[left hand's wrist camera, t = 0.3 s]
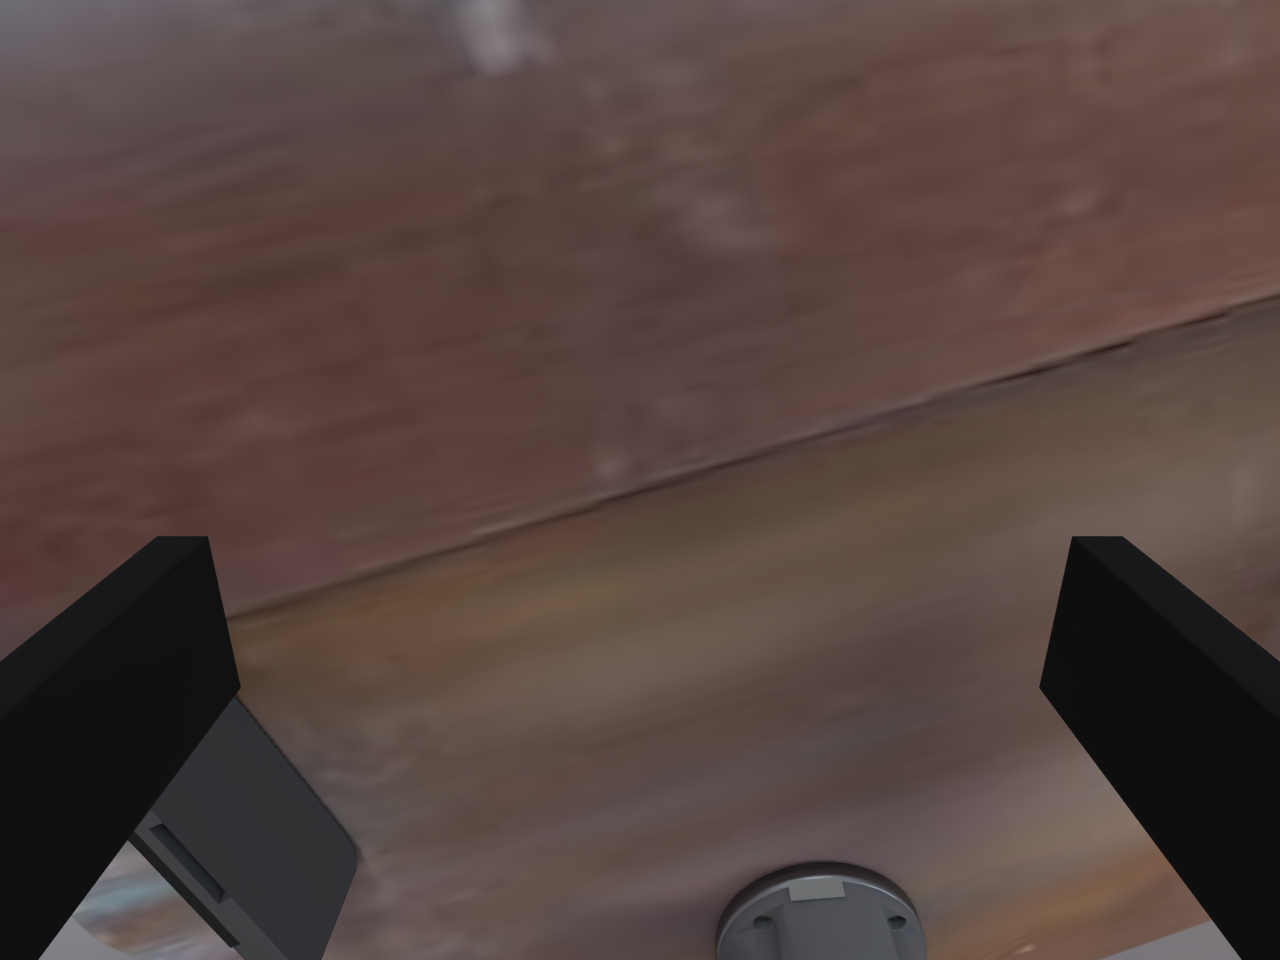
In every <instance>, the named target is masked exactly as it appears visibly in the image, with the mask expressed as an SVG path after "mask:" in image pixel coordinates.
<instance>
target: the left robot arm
mask: <svg viewBox="0 0 1280 960" xmlns="http://www.w3.org/2000/svg"><path fill="white" fill-rule="evenodd" d="M240 688H241V687H240V682H239V677H238V673H237V668H236V664H235V659H234V655H233V650H232V645H231V641H230V636H229V632H228V627H227V622H226V618H225V613H224V609H223V604H222V600H221V595H220V590H219V586H218V581H217V577H216V572H215V567H214V563H213V558H212V554H211V549H210V544H209V540H208V536H157V537H156V538H155V539H153V540H152V541H151V542H150V543H148V544H147V545H146V546H145V547H143V548H142V549H141V550H140V551H138V552H137V553H136V554H135V555H133V556H132V557H131V558H130V559H128V560H127V561H126V562H125V563H123V564H122V565H121V566H120V567H118V568H117V569H116V570H115V571H113V572H112V573H111V574H109V575H108V576H107V577H106V578H104V579H103V580H102V581H101V582H99V583H98V584H97V585H96V586H94V587H93V588H92V589H91V590H89V591H88V592H87V593H86V594H84V595H83V596H82V597H81V598H79V599H78V600H77V601H76V602H74V603H73V604H72V605H71V606H69V607H68V608H67V609H66V610H64V611H63V612H62V613H61V614H59V615H58V616H57V617H56V618H54V619H53V620H52V621H51V622H49V623H48V624H47V625H46V626H44V627H43V628H42V629H41V630H39V631H38V632H37V633H35V634H34V635H33V636H32V637H30V638H29V639H28V640H27V641H25V642H24V643H23V644H22V645H20V646H19V647H18V648H17V649H15V650H14V651H13V652H12V653H10V654H9V655H8V656H7V657H5V658H4V659H3V660H2V661H0V960H38V959H39V958H40V957H41V955H42V954H43V953H44V951H45V950H46V949H47V947H48V946H49V945H50V943H51V942H52V941H53V939H54V938H55V937H56V935H57V934H58V933H59V931H60V930H61V929H62V927H63V926H64V924H65V923H66V922H67V920H68V919H69V918H70V916H71V915H72V914H73V912H74V911H75V910H76V908H77V907H78V906H79V904H80V903H81V902H82V900H83V899H84V898H85V896H86V895H87V894H88V892H89V891H90V890H91V888H92V887H93V886H94V884H95V883H96V882H97V880H98V879H99V877H100V876H101V875H102V873H103V872H104V871H105V869H106V868H107V867H108V865H109V864H110V863H111V861H112V860H113V859H114V857H115V856H116V855H117V853H118V852H119V851H120V849H121V848H122V847H123V845H124V844H125V843H126V841H127V840H128V839H129V837H130V836H131V834H132V833H133V832H134V830H135V829H136V828H137V826H138V825H139V824H140V822H141V821H142V820H143V818H144V817H145V816H146V814H147V813H148V812H149V810H150V809H151V808H152V806H153V805H154V804H155V802H156V801H157V800H158V798H159V797H160V796H161V794H162V793H163V792H164V790H165V789H166V787H167V786H168V785H169V783H170V782H171V781H172V779H173V778H174V777H175V775H176V774H177V773H178V771H179V770H180V769H181V767H182V766H183V765H184V763H185V762H186V761H187V759H188V758H189V757H190V755H191V754H192V753H193V751H194V750H195V749H196V747H197V746H198V745H199V743H200V742H201V740H202V739H203V738H204V736H205V735H206V734H207V732H208V731H209V730H210V728H211V727H212V726H213V724H214V723H215V722H216V720H217V719H218V718H219V716H220V715H221V714H222V712H223V711H224V710H225V708H226V707H227V706H228V704H229V703H230V702H231V700H232V699H233V697H234V696H235V695H236V693H237V692H238V691H239V689H240ZM1039 688H1040V689H1041V691H1042V692H1043V693H1044V695H1045V696H1046V697H1047V699H1048V700H1049V702H1050V703H1051V704H1052V706H1053V707H1054V708H1055V710H1056V711H1057V712H1058V714H1059V715H1060V716H1061V718H1062V719H1063V720H1064V722H1065V723H1066V724H1067V726H1068V727H1069V728H1070V730H1071V731H1072V732H1073V734H1074V735H1075V736H1076V738H1077V739H1078V740H1079V742H1080V743H1081V745H1082V746H1083V747H1084V749H1085V750H1086V751H1087V753H1088V754H1089V755H1090V757H1091V758H1092V759H1093V761H1094V762H1095V763H1096V765H1097V766H1098V767H1099V769H1100V770H1101V771H1102V773H1103V774H1104V775H1105V777H1106V778H1107V779H1108V781H1109V782H1110V783H1111V785H1112V786H1113V787H1114V789H1115V790H1116V792H1117V793H1118V794H1119V796H1120V797H1121V798H1122V800H1123V801H1124V802H1125V804H1126V805H1127V806H1128V808H1129V809H1130V810H1131V812H1132V813H1133V814H1134V816H1135V817H1136V818H1137V820H1138V821H1139V822H1140V824H1141V825H1142V826H1143V828H1144V829H1145V830H1146V832H1147V833H1148V834H1149V836H1150V837H1151V839H1152V840H1153V841H1154V843H1155V844H1156V845H1157V847H1158V848H1159V849H1160V851H1161V852H1162V853H1163V855H1164V856H1165V857H1166V859H1167V860H1168V861H1169V863H1170V864H1171V865H1172V867H1173V868H1174V869H1175V871H1176V872H1177V873H1178V875H1179V876H1180V877H1181V879H1182V880H1183V882H1184V883H1185V884H1186V886H1187V887H1188V888H1189V890H1190V891H1191V892H1192V894H1193V895H1194V896H1195V898H1196V899H1197V900H1198V902H1199V903H1200V904H1201V906H1202V907H1203V908H1204V910H1205V911H1206V912H1207V914H1208V915H1209V916H1210V918H1211V919H1212V920H1213V922H1214V923H1215V924H1216V926H1217V927H1218V929H1219V930H1220V931H1221V933H1222V934H1223V935H1224V937H1225V938H1226V939H1227V941H1228V942H1229V943H1230V945H1231V946H1232V947H1233V949H1234V950H1235V951H1236V953H1237V954H1238V955H1239V957H1240V958H1241V959H1242V960H1280V661H1278V660H1277V659H1276V658H1275V657H1273V656H1272V655H1271V654H1270V653H1268V652H1267V651H1266V650H1265V649H1263V648H1262V647H1261V646H1260V645H1258V644H1257V643H1256V642H1255V641H1253V640H1252V639H1251V638H1250V637H1248V636H1247V635H1246V634H1244V633H1243V632H1242V631H1241V630H1239V629H1238V628H1237V627H1236V626H1234V625H1233V624H1232V623H1231V622H1229V621H1228V620H1227V619H1226V618H1224V617H1223V616H1222V615H1221V614H1219V613H1218V612H1217V611H1216V610H1214V609H1213V608H1212V607H1211V606H1209V605H1208V604H1207V603H1206V602H1204V601H1203V600H1202V599H1201V598H1199V597H1198V596H1197V595H1196V594H1194V593H1193V592H1192V591H1191V590H1189V589H1188V588H1187V587H1186V586H1184V585H1183V584H1182V583H1181V582H1179V581H1178V580H1177V579H1176V578H1174V577H1173V576H1172V575H1171V574H1169V573H1168V572H1167V571H1165V570H1164V569H1163V568H1162V567H1160V566H1159V565H1158V564H1157V563H1155V562H1154V561H1153V560H1152V559H1150V558H1149V557H1148V556H1147V555H1145V554H1144V553H1143V552H1142V551H1140V550H1139V549H1138V548H1137V547H1135V546H1134V545H1133V544H1132V543H1130V542H1129V541H1128V540H1127V539H1125V538H1124V537H1123V536H1072V540H1071V544H1070V549H1069V554H1068V558H1067V563H1066V567H1065V572H1064V577H1063V581H1062V586H1061V590H1060V595H1059V599H1058V604H1057V609H1056V613H1055V618H1054V622H1053V627H1052V632H1051V636H1050V641H1049V645H1048V650H1047V655H1046V659H1045V664H1044V668H1043V673H1042V677H1041V682H1040V687H1039ZM716 952H717V960H927V951H926V942H925V936H924V932H923V929H922V926H921V923H920V920H919V918H918V915H917V912H916V909H915V907H914V905H913V903H912V902H911V900H910V899H909V897H908V896H907V895H906V893H905V892H904V891H903V890H902V889H901V888H900V887H899V886H897V885H896V884H895V883H893V882H892V881H891V880H889V879H887V878H886V877H884V876H882V875H880V874H878V873H876V872H873V871H871V870H868V869H865V868H861V867H858V866H853V865H848V864H840V863H812V864H804V865H798V866H793V867H789V868H786V869H782V870H779V871H776V872H774V873H771V874H769V875H767V876H765V877H763V878H761V879H759V880H757V881H755V882H754V883H752V884H751V885H749V886H748V887H746V888H745V889H744V890H743V891H741V892H740V893H739V894H738V895H737V896H736V897H735V898H734V899H733V900H732V901H731V902H730V904H729V905H728V906H727V908H726V909H725V911H724V913H723V914H722V916H721V918H720V921H719V923H718V927H717V931H716Z"/></svg>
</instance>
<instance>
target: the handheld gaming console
mask: <svg viewBox="0 0 1280 960" xmlns="http://www.w3.org/2000/svg"><path fill="white" fill-rule="evenodd" d="M128 841H129V842H130V843H131V844H132V845H133V846H134V847H135V848H136V849H137V850H138V851H139V852H140V853H141V854H142V855H143V856H144V857H145V858H146V859H147V860H148V862H149V863H150V864H151V865H152V866H153V867H154V868H155V869H156V870H157V871H158V872H159V873H160V874H161V875H162V876H163V877H164V878H165V879H166V880H167V882H168V883H169V884H170V885H171V886H172V887H173V888H174V889H175V890H176V891H177V892H178V893H179V894H180V895H181V896H182V897H183V898H184V899H185V900H186V902H187V903H188V904H189V905H190V906H191V907H192V908H193V909H194V910H195V911H196V912H197V913H198V914H199V915H200V916H201V917H202V918H203V919H204V920H205V921H206V923H207V924H208V925H209V926H210V927H211V928H212V929H213V930H214V931H215V932H216V933H217V934H218V935H219V936H220V937H221V938H222V939H223V940H224V941H225V943H226V944H227V945H228V946H229V947H230V948H231V947H233V948H234V949H235V950H236V951H237V952H238V953H239V954H240V955H241V956H242V957H243V958H244V959H245V960H321V959H322V957H323V954H324V952H325V949H326V947H327V944H328V941H329V939H330V936H331V934H332V931H333V928H334V926H335V923H336V921H337V918H338V916H339V913H340V910H341V908H342V905H343V903H344V900H345V897H346V895H347V892H348V890H349V887H350V885H351V882H352V879H353V877H354V874H355V872H356V869H357V866H356V854H355V848H354V847H353V845H352V844H351V842H350V841H349V839H348V838H347V836H346V835H345V833H344V832H343V830H342V829H341V828H340V826H339V825H338V824H337V823H336V821H335V820H334V819H333V818H332V817H331V815H330V814H329V813H328V812H327V810H326V809H325V808H324V807H323V805H322V804H321V803H320V802H319V801H318V799H317V798H316V797H315V796H314V794H313V793H312V792H311V791H310V789H309V788H308V787H307V786H306V784H305V783H304V782H303V781H302V780H301V778H300V777H299V776H298V775H297V773H296V772H295V771H294V770H293V768H292V767H291V766H290V765H289V764H288V762H287V761H286V760H285V759H284V757H283V756H282V755H281V754H280V752H279V751H278V750H277V749H276V747H275V746H274V745H273V744H272V743H271V741H270V740H269V739H268V738H267V736H266V735H265V734H264V733H263V731H262V730H261V729H260V728H259V727H258V725H257V724H256V723H255V722H254V720H253V719H252V718H251V717H250V715H249V714H248V713H247V712H246V711H245V709H244V708H243V707H242V706H241V704H240V703H239V702H238V701H237V699H236V698H235V697H233V699H232V700H231V702H230V703H229V704H228V706H227V707H226V708H225V710H224V711H223V712H222V714H221V715H220V716H219V718H218V719H217V720H216V722H215V723H214V724H213V726H212V727H211V728H210V730H209V731H208V732H207V734H206V735H205V736H204V738H203V739H202V740H201V742H200V743H199V745H198V746H197V747H196V749H195V750H194V751H193V753H192V754H191V755H190V757H189V758H188V759H187V761H186V762H185V763H184V765H183V766H182V767H181V769H180V770H179V771H178V773H177V774H176V775H175V777H174V778H173V779H172V781H171V782H170V783H169V785H168V786H167V787H166V789H165V790H164V792H163V793H162V794H161V796H160V797H159V798H158V800H157V801H156V802H155V804H154V805H153V806H152V808H151V809H150V810H149V812H148V813H147V814H146V816H145V817H144V818H143V820H142V821H141V822H140V824H139V825H138V826H137V828H136V829H135V830H134V832H133V833H132V834H131V836H130V837H129V839H128Z"/></svg>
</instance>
